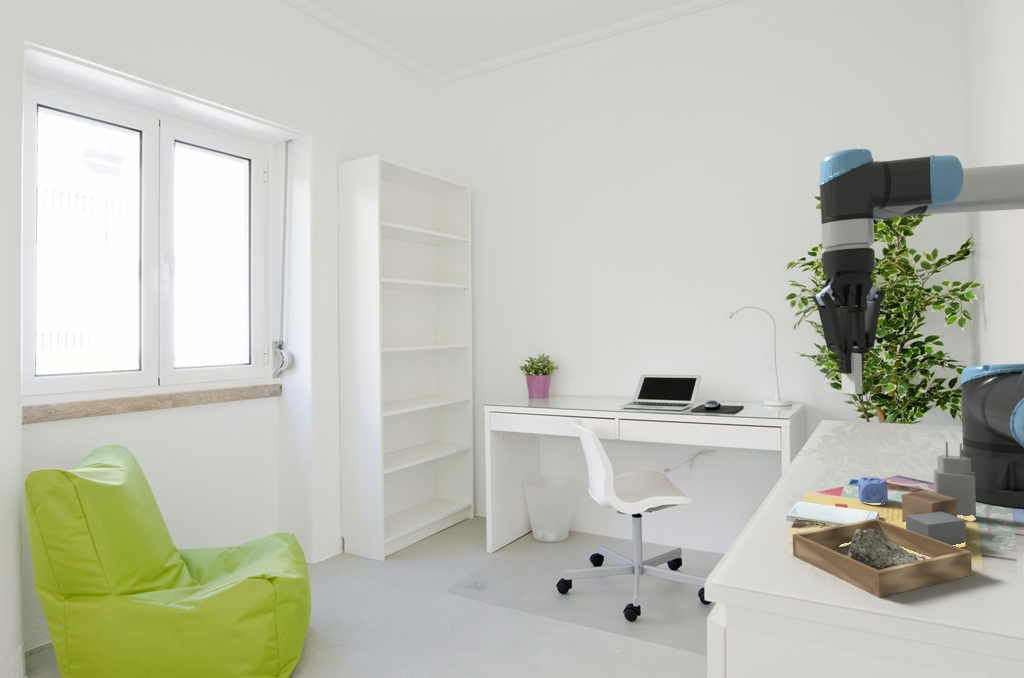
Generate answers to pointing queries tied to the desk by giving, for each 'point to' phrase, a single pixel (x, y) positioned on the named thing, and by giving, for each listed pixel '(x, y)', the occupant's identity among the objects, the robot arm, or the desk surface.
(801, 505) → the hard drive
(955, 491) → the power adapter
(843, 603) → the desk surface
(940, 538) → the charcoal block
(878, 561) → the rock sample
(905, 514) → the walnut block
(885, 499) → the decorative dice
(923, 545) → the oak frame
